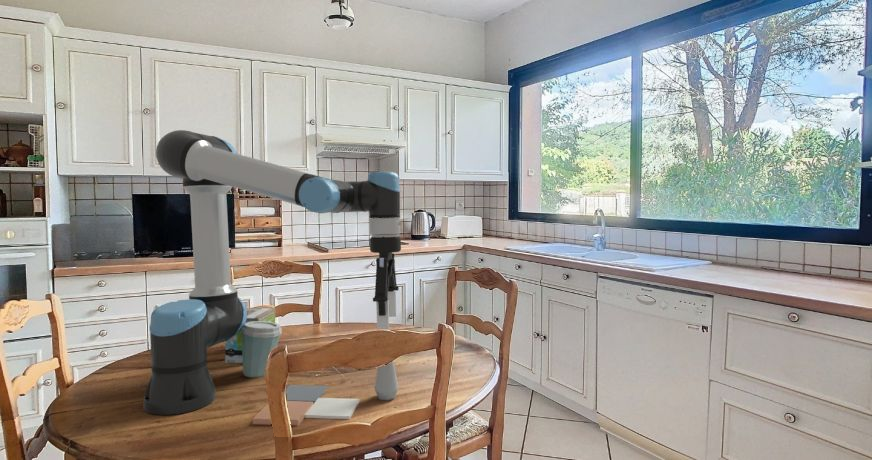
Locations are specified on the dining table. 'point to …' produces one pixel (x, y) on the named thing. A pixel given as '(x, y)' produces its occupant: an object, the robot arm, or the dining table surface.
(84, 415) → the dining table surface
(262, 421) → the terracotta coaster
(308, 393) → the slate coaster
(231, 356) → the tea box
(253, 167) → the robot arm
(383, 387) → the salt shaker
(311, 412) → the white coaster
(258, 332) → the disposable coffee cup
